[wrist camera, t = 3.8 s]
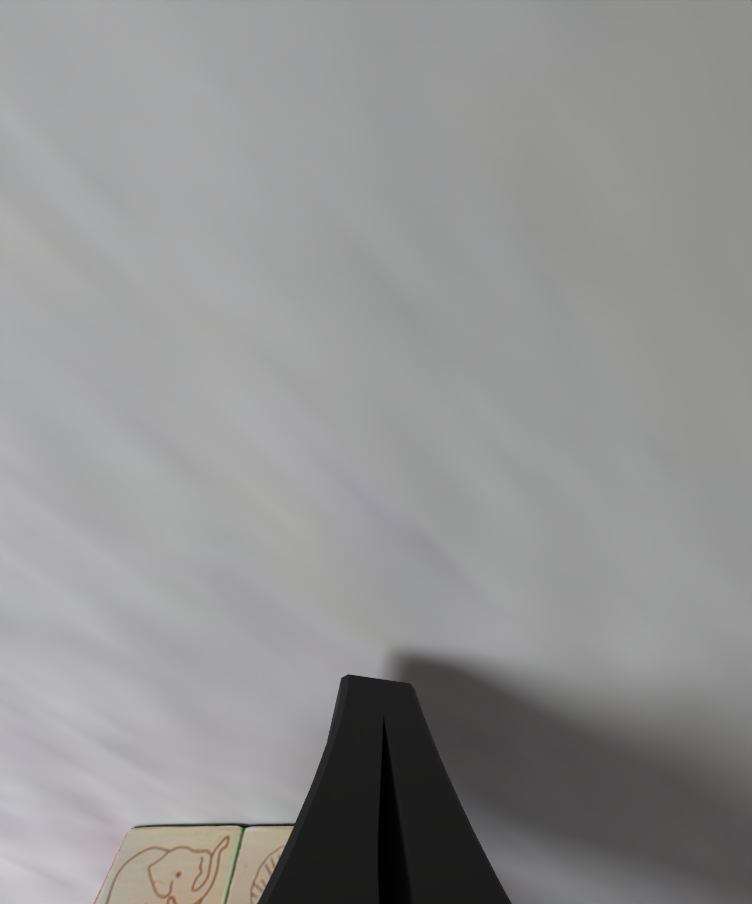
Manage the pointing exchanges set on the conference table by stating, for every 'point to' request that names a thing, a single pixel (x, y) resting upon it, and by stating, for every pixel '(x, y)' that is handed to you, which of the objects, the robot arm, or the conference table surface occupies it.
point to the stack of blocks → (194, 865)
